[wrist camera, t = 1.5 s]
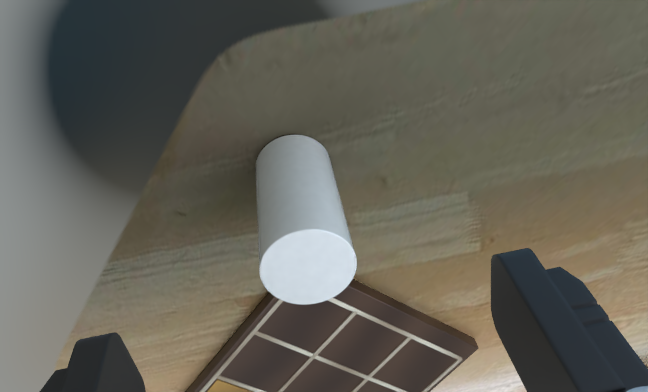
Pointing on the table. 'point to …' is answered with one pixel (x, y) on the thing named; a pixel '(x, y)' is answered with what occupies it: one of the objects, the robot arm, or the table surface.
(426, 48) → the table surface
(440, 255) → the table surface
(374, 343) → the board
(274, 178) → the tall white cylinder
